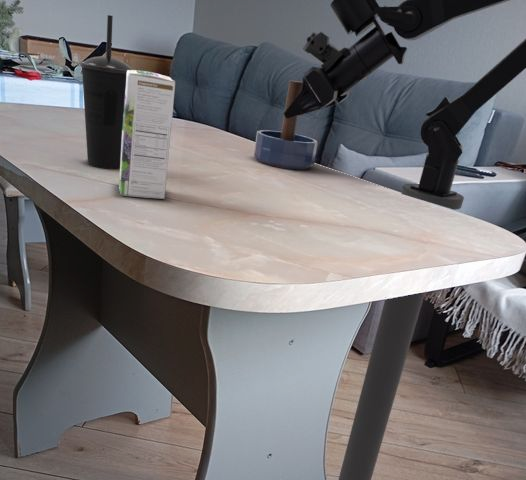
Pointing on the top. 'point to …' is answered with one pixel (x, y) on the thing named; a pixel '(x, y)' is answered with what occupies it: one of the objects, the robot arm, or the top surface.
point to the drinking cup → (104, 105)
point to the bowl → (285, 150)
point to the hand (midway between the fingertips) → (291, 114)
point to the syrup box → (146, 134)
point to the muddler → (288, 123)
